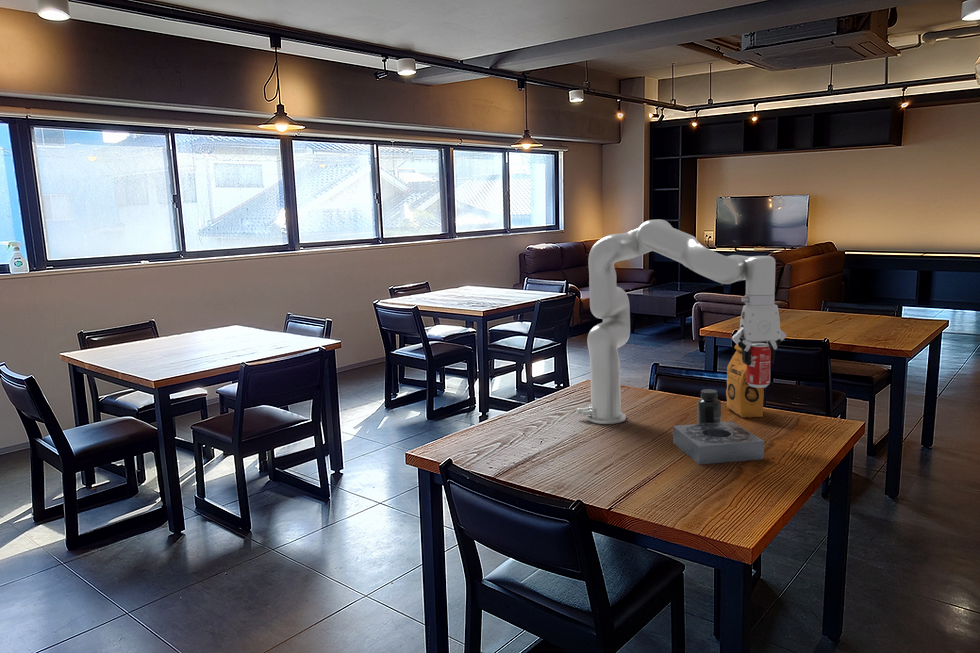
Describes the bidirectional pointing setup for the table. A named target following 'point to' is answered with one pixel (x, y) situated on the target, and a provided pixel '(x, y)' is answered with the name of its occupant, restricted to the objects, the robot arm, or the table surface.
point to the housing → (718, 442)
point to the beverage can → (759, 365)
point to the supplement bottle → (709, 407)
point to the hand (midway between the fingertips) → (758, 362)
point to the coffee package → (742, 389)
